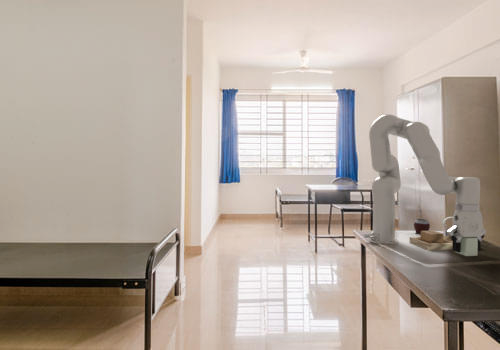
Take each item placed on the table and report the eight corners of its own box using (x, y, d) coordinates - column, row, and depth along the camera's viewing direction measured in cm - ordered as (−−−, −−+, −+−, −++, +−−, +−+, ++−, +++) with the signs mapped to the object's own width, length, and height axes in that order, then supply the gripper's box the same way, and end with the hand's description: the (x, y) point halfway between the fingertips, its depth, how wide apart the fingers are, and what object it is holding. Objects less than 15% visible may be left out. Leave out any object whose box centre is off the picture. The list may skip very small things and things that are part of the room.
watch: (463, 241, 134) (464, 218, 133) (443, 239, 137) (444, 217, 137) (460, 238, 139) (461, 216, 138) (441, 236, 142) (442, 215, 142)
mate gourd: (424, 237, 141) (425, 208, 141) (409, 234, 148) (409, 206, 148) (432, 235, 145) (433, 207, 144) (417, 232, 152) (418, 205, 151)
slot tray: (428, 252, 116) (429, 244, 116) (409, 244, 128) (409, 237, 128) (480, 250, 120) (480, 242, 120) (456, 242, 131) (456, 235, 131)
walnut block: (430, 247, 119) (431, 234, 119) (420, 244, 125) (420, 230, 125) (443, 247, 120) (443, 233, 120) (432, 243, 126) (432, 230, 126)
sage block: (466, 258, 109) (466, 238, 109) (455, 254, 114) (455, 235, 114) (477, 258, 110) (477, 237, 109) (465, 254, 114) (466, 234, 114)
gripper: (456, 209, 106) (455, 255, 107) (495, 208, 108) (494, 253, 109) (440, 207, 114) (439, 249, 114) (477, 206, 116) (476, 247, 116)
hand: (466, 250), depth 112 cm, fingers open, 8 cm apart
